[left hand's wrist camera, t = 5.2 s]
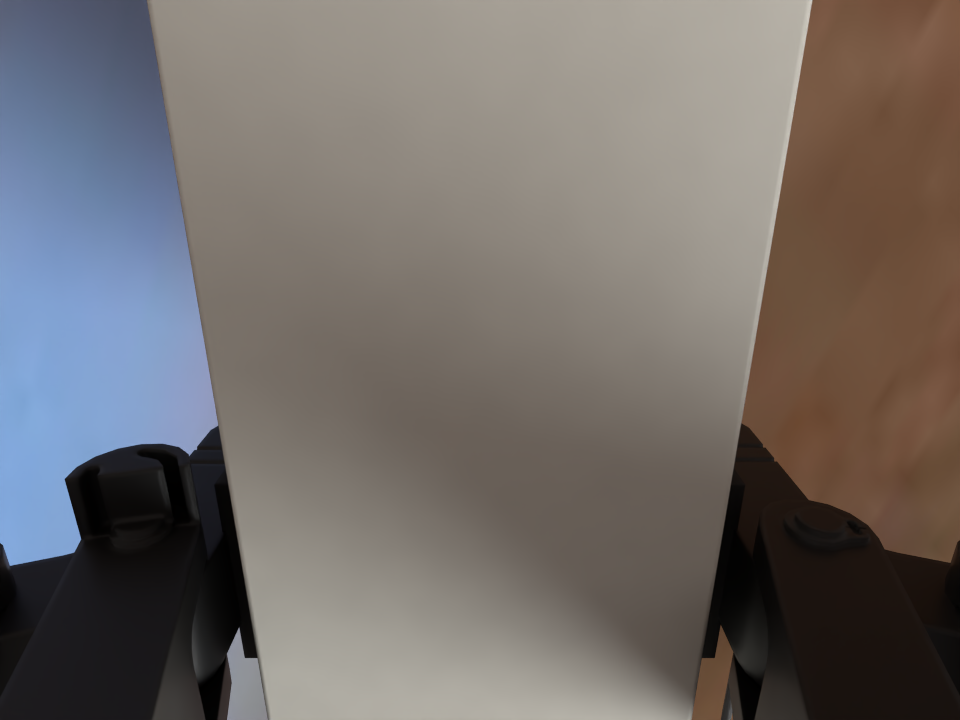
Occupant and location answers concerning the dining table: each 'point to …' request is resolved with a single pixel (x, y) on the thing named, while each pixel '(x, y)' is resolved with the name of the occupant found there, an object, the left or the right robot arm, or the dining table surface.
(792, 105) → the bar
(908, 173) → the dining table surface
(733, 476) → the left robot arm
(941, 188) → the dining table surface
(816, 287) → the dining table surface
